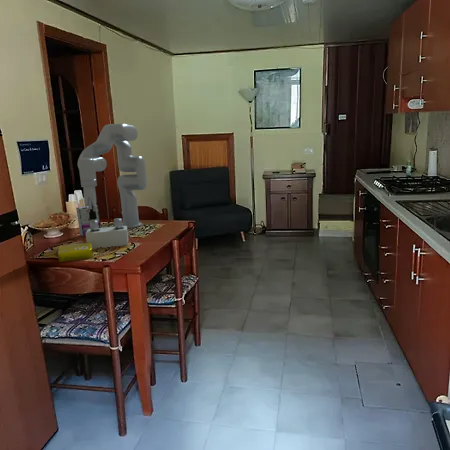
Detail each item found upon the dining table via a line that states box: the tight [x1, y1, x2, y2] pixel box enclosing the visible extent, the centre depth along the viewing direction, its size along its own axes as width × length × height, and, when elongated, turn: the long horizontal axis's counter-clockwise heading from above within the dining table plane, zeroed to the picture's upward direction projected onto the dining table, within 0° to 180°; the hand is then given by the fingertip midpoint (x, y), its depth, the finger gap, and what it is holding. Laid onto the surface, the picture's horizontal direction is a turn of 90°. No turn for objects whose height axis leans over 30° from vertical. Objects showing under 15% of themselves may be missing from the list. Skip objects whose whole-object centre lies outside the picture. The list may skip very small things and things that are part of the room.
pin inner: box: [113, 217, 123, 230], centre depth 213 cm, size 4×4×6 cm
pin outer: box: [90, 220, 99, 232], centre depth 211 cm, size 4×4×6 cm
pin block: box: [85, 226, 129, 249], centre depth 214 cm, size 10×20×8 cm, turn 101°
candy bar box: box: [75, 204, 102, 237], centre depth 237 cm, size 11×5×16 cm, turn 131°
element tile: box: [57, 242, 94, 263], centre depth 197 cm, size 15×15×5 cm
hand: (93, 219), depth 210 cm, fingers closed
